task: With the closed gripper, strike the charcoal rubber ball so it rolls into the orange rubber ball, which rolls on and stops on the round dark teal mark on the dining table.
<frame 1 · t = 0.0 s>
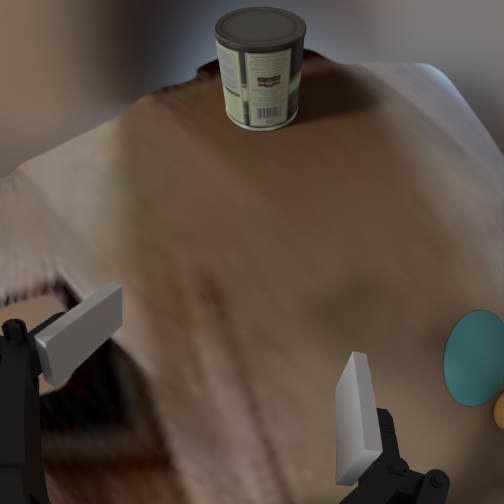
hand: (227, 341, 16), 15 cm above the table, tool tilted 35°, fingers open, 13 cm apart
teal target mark: (479, 358, 28), on the table
coffee can: (261, 106, 41), on the table
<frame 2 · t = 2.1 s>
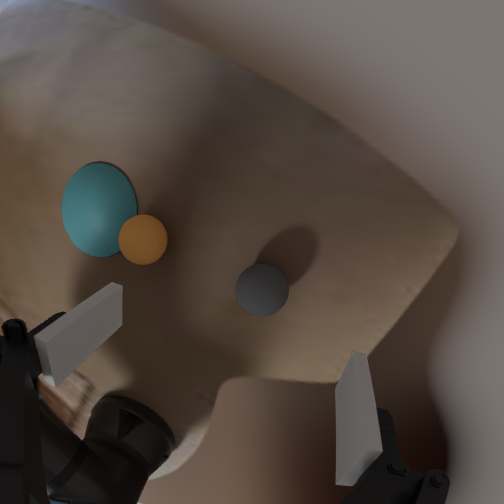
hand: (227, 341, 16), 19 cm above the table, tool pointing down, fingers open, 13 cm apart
orange ball: (142, 239, 33), on the table
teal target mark: (96, 210, 35), on the table
charcoal ball: (262, 289, 33), on the table
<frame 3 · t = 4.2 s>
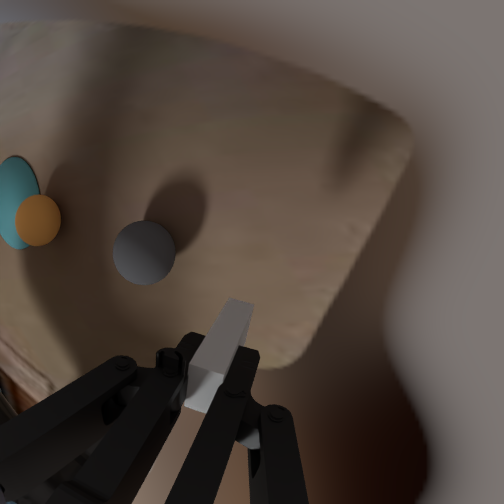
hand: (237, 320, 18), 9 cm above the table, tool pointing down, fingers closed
orange ball: (37, 220, 27), on the table
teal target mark: (14, 203, 31), on the table
charcoal ball: (144, 252, 26), on the table
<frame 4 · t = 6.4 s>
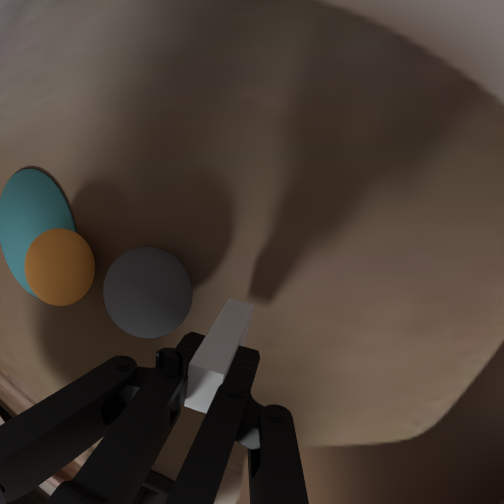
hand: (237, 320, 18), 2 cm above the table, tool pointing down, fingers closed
orange ball: (59, 267, 19), on the table
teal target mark: (32, 236, 22), on the table
charcoal ball: (147, 292, 18), on the table
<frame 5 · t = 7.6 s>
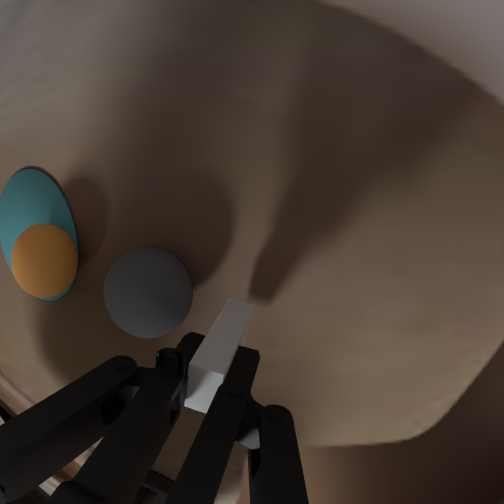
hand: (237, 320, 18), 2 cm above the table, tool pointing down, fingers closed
orange ball: (44, 260, 19), on the table
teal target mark: (32, 236, 22), on the table
charcoal ball: (147, 292, 18), on the table
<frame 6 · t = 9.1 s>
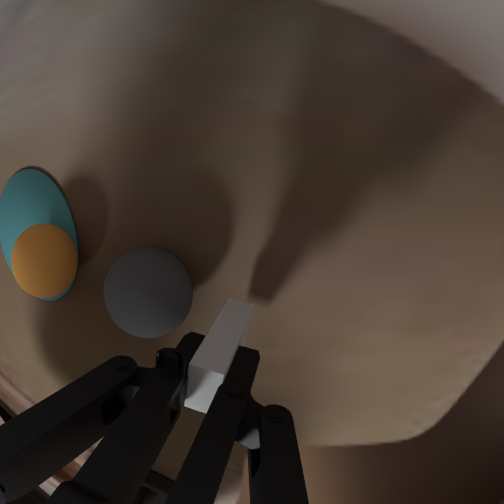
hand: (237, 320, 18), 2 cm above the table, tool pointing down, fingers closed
orange ball: (44, 260, 19), on the table
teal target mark: (32, 236, 22), on the table
charcoal ball: (147, 292, 18), on the table
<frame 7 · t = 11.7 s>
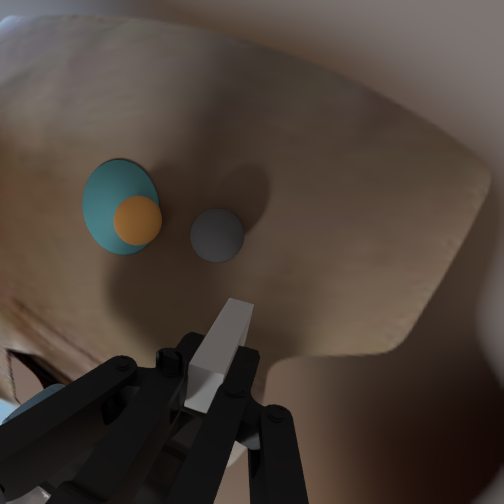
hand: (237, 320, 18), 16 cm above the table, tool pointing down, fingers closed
orange ball: (137, 220, 33), on the table
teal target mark: (118, 208, 36), on the table
charcoal ball: (217, 235, 32), on the table
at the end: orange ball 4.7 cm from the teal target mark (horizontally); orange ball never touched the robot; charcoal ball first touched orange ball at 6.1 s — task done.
